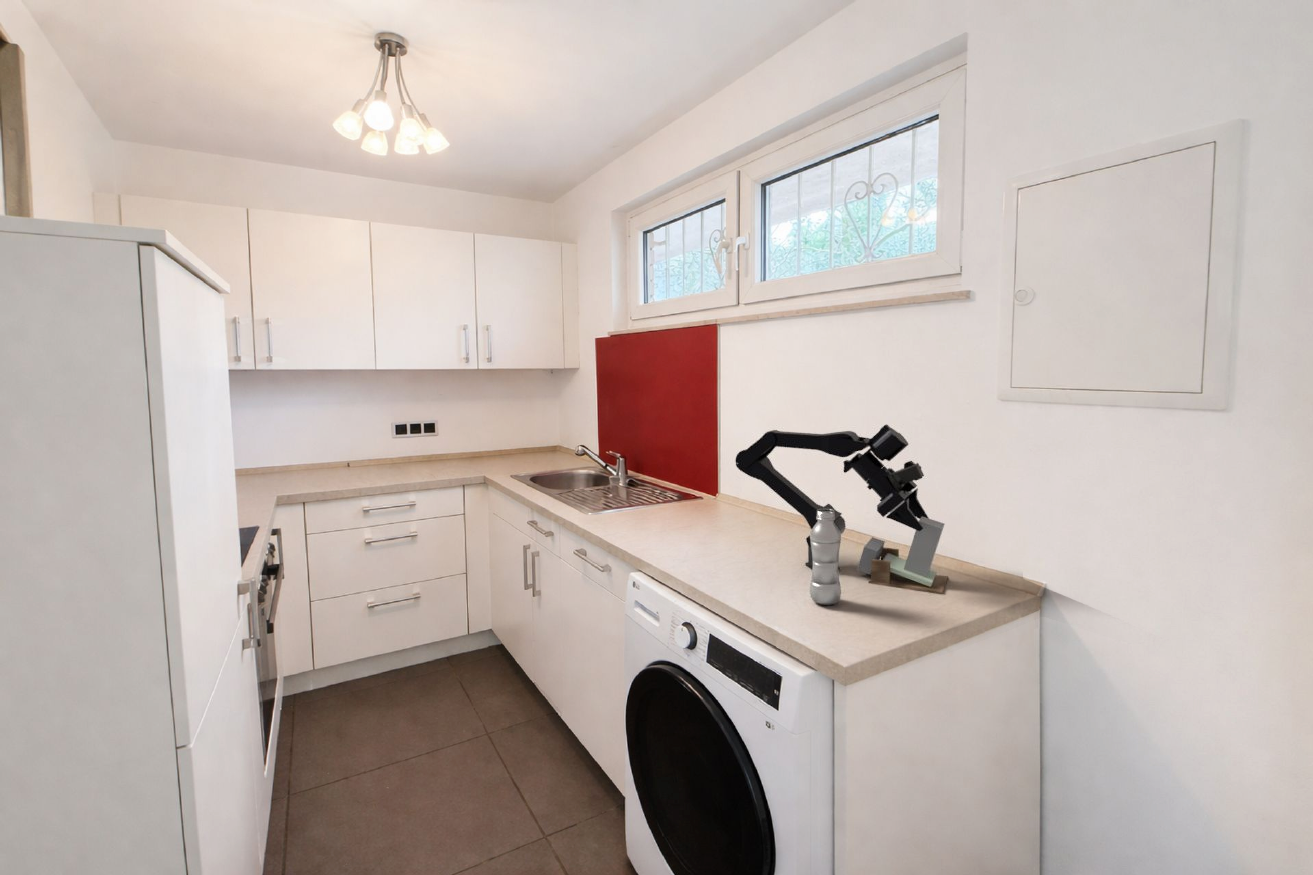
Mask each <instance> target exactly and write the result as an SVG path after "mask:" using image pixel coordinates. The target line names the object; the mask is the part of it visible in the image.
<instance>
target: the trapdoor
mask: <svg viewBox="0 0 1313 875" xmlns="http://www.w3.org/2000/svg"><path fill="white" fill-rule="evenodd" d="M885 543H886V541H885V540H881V539H878V538H876V537H873V536H872V537H871V538H870V540H868V541H867V543H866V544H865V545H864V547H863V549H862V552H861V557H860V559H859V562H858V566H857V571H859V572H862V573H864V574H867V575H870V576H871V560H872V559H876V560H881V553H882V550H883V547H884V546H885ZM883 560H884V561H890V572H892V573H895V574H898V575H900V576H903V577H906V578H908V579H911V580H914V581H916V582H919V583H921V584H924V585H927V586H929V587H931V585H932V583H933V581H934V578H935V576H936V575H937V573H938V571H937V570H935V569H932V568H930V571H929V573H928V575H927V578H926V577H923V576H920V575H918V574H915V573H912V572H909V571H907V570H904V567H905V563H906V560H907V558H906V559H905V558H903V557H900V556H899V557H897V556H895V555H892V554H890V553H887V554H886V556H885V557H884V559H883Z"/></svg>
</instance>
